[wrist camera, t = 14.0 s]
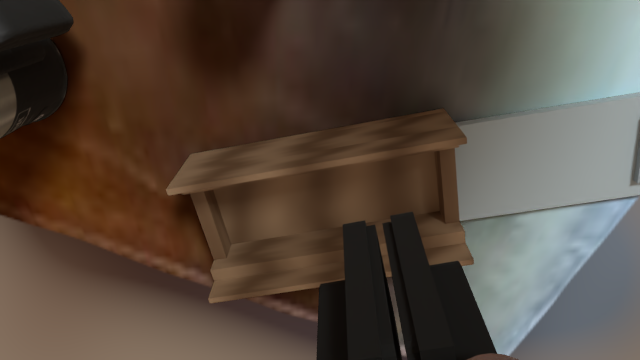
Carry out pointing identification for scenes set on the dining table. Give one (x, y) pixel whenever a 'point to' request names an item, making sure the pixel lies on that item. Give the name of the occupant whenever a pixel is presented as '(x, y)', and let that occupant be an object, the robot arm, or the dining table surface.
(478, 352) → the robot arm
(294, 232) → the walnut box
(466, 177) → the cover plate
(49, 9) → the milk frother
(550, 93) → the dining table surface
